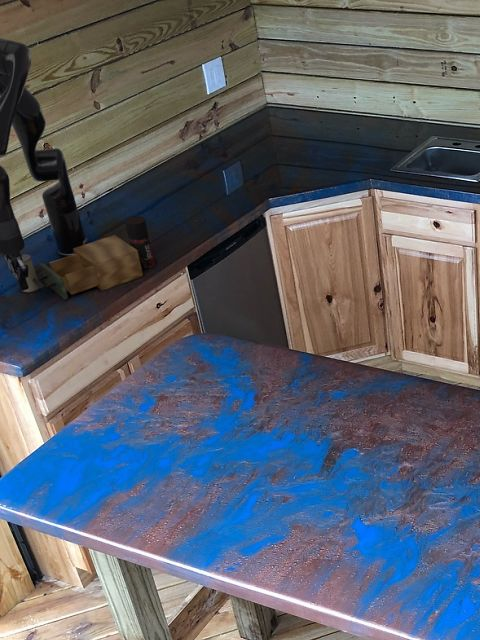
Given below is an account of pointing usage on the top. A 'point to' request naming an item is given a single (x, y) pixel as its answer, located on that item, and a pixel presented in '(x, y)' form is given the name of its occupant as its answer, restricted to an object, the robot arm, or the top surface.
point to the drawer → (67, 275)
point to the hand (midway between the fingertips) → (24, 288)
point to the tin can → (30, 274)
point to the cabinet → (111, 261)
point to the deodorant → (140, 240)
